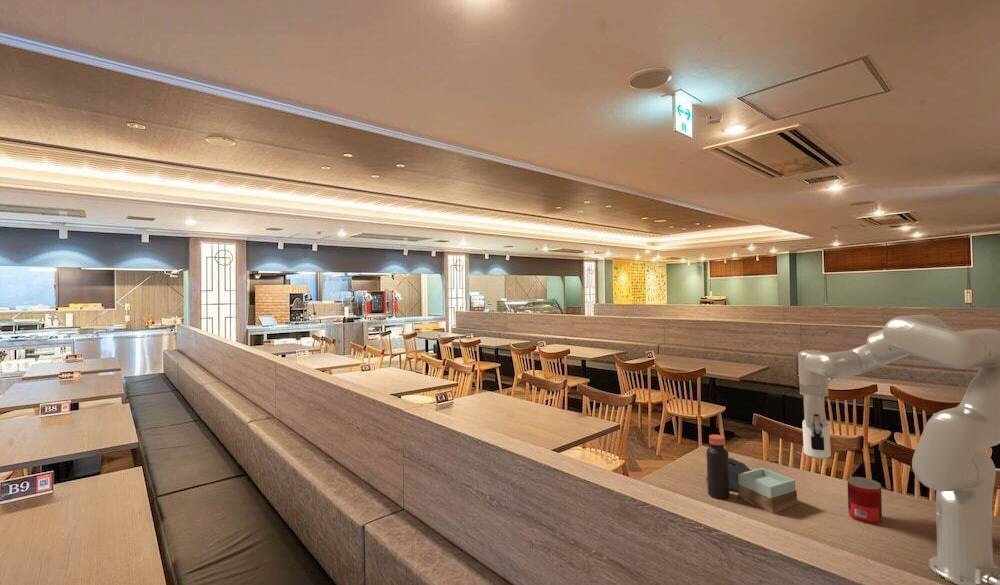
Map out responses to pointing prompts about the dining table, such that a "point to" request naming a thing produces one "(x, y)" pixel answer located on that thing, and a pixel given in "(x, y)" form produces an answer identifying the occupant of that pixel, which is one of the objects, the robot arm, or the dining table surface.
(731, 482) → the dark slate chunk
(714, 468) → the bottle
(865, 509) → the canned food
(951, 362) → the robot arm
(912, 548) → the dining table surface
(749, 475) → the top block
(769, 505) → the bottom block
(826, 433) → the can
